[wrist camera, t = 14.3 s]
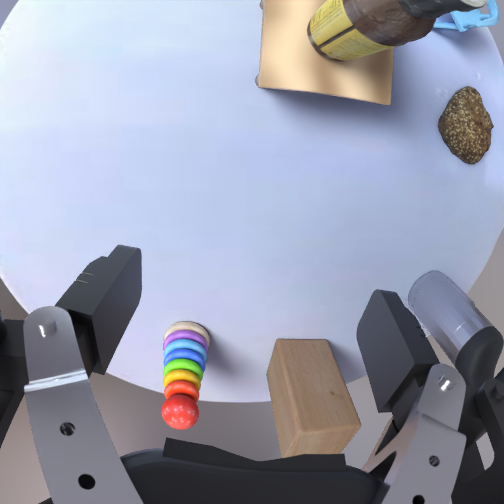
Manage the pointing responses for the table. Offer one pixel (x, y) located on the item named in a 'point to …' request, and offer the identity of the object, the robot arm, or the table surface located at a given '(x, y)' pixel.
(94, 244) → the table surface
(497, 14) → the chair
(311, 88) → the small wooden side table
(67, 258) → the table surface
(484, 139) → the bread roll
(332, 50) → the sauce bottle
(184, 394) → the stacking toy
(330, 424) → the wooden block
